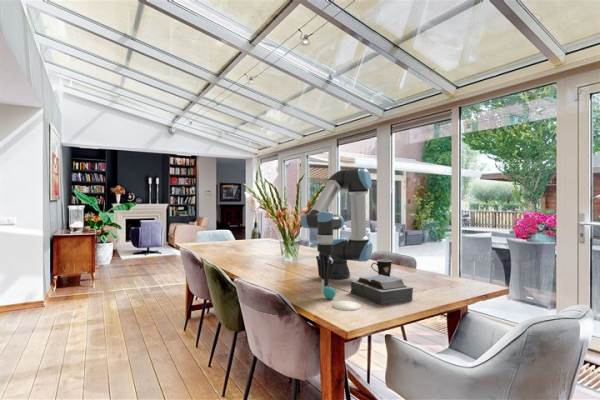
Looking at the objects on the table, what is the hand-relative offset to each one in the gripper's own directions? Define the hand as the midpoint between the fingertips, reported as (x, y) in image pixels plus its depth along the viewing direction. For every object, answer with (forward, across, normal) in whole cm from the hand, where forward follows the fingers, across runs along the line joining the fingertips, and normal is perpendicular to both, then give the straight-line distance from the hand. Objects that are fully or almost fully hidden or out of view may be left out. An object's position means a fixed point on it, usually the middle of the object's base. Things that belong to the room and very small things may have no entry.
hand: (324, 292), depth 169 cm
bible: (+3, +12, +25) cm, 27 cm away
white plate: (+2, +16, +1) cm, 17 cm away
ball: (0, +3, 0) cm, 3 cm away
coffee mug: (+2, -19, +53) cm, 56 cm away
